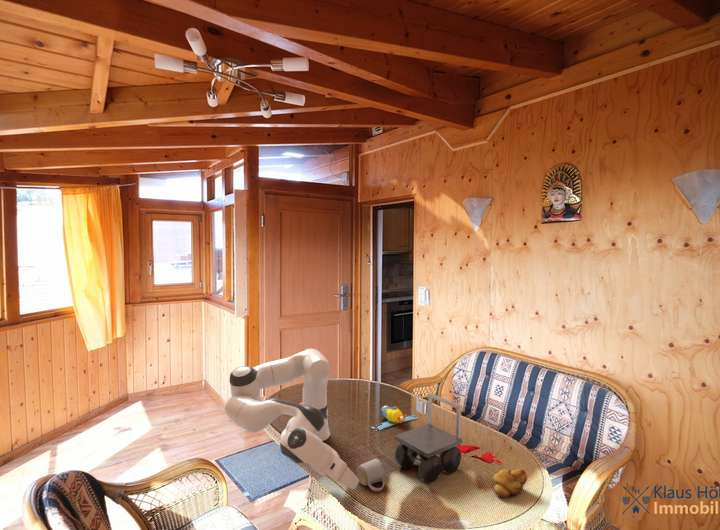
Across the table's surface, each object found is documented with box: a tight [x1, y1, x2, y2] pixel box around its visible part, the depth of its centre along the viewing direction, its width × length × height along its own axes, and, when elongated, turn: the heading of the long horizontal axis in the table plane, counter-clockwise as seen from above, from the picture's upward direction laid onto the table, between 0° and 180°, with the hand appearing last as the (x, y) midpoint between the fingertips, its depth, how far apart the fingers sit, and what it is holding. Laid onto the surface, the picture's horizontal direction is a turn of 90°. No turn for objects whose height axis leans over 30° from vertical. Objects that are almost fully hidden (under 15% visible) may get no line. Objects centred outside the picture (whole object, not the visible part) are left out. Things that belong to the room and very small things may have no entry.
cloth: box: [455, 444, 504, 465], centre depth 175 cm, size 26×14×2 cm, turn 36°
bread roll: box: [492, 468, 528, 498], centre depth 147 cm, size 13×10×8 cm
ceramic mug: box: [356, 458, 386, 492], centre depth 151 cm, size 11×8×8 cm
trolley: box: [394, 393, 463, 484], centre depth 161 cm, size 21×18×26 cm
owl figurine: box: [370, 405, 420, 432], centre depth 206 cm, size 28×9×15 cm
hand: (348, 478), depth 147 cm, fingers closed
